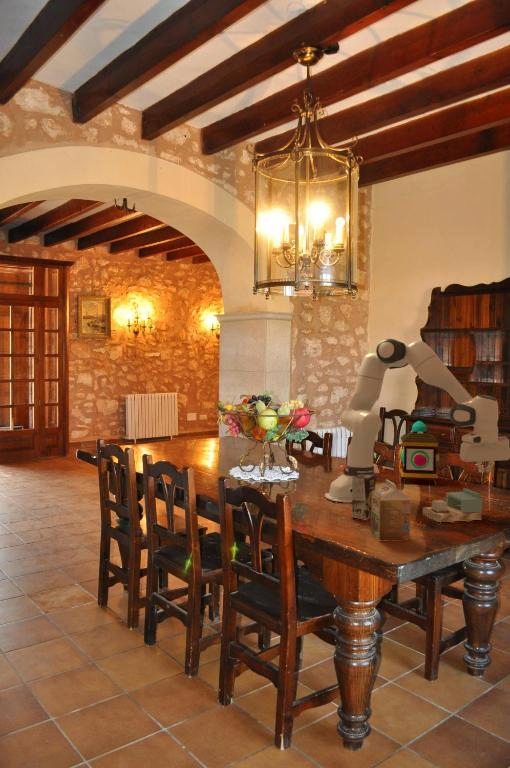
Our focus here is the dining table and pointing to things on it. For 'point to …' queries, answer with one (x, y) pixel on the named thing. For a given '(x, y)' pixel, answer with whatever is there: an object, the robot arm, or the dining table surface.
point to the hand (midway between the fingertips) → (484, 472)
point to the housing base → (452, 514)
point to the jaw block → (439, 506)
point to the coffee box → (362, 495)
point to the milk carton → (390, 513)
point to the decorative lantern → (418, 454)
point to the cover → (465, 500)
